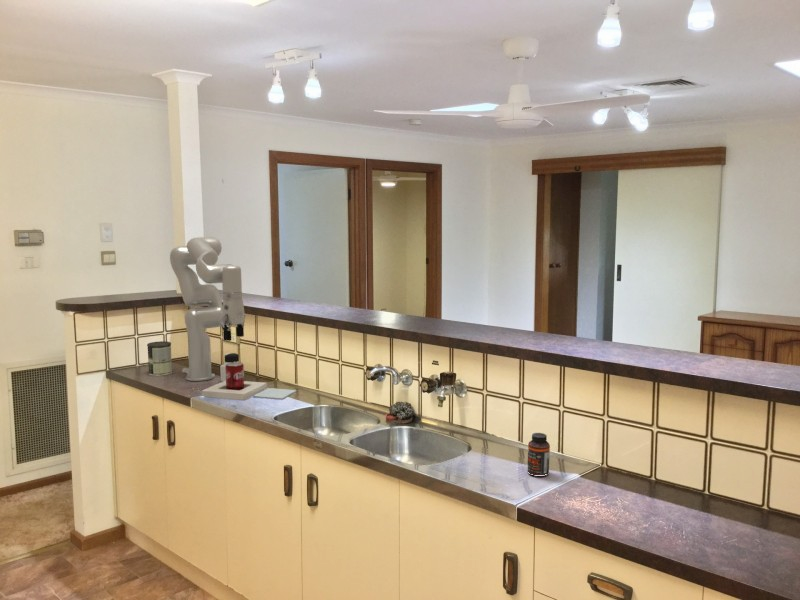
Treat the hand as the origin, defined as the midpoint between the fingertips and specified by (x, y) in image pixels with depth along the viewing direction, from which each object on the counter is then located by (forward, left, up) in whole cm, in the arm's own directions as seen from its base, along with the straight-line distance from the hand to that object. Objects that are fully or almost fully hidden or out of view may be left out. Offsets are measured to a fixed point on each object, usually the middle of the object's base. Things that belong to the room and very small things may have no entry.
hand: (233, 338), depth 274 cm
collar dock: (0, 0, -23) cm, 23 cm away
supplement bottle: (+127, -55, -23) cm, 140 cm away
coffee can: (-51, +21, -23) cm, 60 cm away
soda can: (0, 0, -23) cm, 23 cm away
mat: (+17, +2, -23) cm, 28 cm away
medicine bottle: (-12, +18, -23) cm, 32 cm away
